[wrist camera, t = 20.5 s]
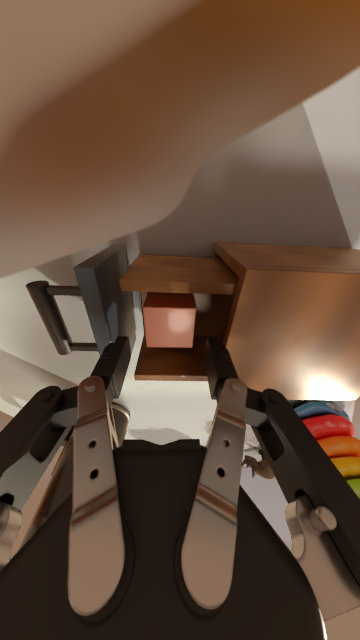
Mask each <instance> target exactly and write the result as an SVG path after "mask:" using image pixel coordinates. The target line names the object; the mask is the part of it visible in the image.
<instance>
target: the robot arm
mask: <svg viewBox="0 0 360 640" xmlns="http://www.w3.org/2000/svg"><path fill="white" fill-rule="evenodd" d="M130 358H131V348H130V342H129V337H128V336H117V338H116V340H115V343H109V344H108V345H107V346H106V347H105V348H104V350H103V352H102V354H101V356H100V359H99V360H98V362H97V364H96V366H95V368H94V370H93V372H92V374H91V376H90V377H88V378H86V379H84V380H83V381H82V382H81V383H80V384H79V386H77V387H73V388H69V389H65V390H61V388H60V387H58V386H49V387H46V388H44V389H42V390H40V391H39V392H37V393H36V394H35V395H34V396H33V397H32V398H31V400H30V401H29V402H28V403H27V404H26V405H25V406H24V407H23V408H22V409H21V410H20V412H19V413H18V414H17V415H16V416H15V417H14V418H13V419H12V420H11V421H10V423H8V425H7V426H6V427H5V428H4V429H3V430H2V431H1V432H0V640H327V637H326V631H325V626H324V621H326V620H329V619H331V618H334V617H336V616H339V615H341V614H343V613H346V612H348V611H350V610H353V609H355V608H357V607H360V499H359V498H358V496H357V495H356V493H355V492H354V491H353V489H352V488H351V487H350V485H349V484H348V483H347V481H346V480H345V478H344V477H343V476H342V474H341V473H340V472H339V470H338V469H337V468H336V466H335V465H334V463H333V462H332V461H331V459H330V458H329V457H328V455H327V454H326V452H325V451H324V450H323V448H322V447H321V446H320V444H319V443H318V442H317V440H316V439H315V437H314V436H313V435H312V433H311V432H310V431H309V429H308V428H307V427H306V425H305V424H304V422H303V421H302V420H301V418H300V417H299V416H298V414H297V413H296V412H295V410H294V409H293V407H292V406H291V405H290V403H289V402H288V401H287V399H286V398H285V397H284V395H283V394H281V393H280V392H279V391H277V390H274V389H270V388H268V389H265V390H263V392H260V391H256V390H253V389H250V388H248V387H246V385H245V384H244V383H243V382H242V381H241V380H239V378H238V375H237V372H236V370H235V367H234V364H233V362H232V359H231V357H230V353H229V351H228V349H227V348H226V347H225V346H224V345H219V343H218V340H217V339H216V338H207V340H206V346H205V351H204V362H205V367H206V372H207V377H208V383H209V388H210V393H211V398H212V399H216V400H217V407H216V411H215V415H214V419H213V422H212V426H211V430H210V434H209V437H208V441H207V444H206V447H204V446H201V445H200V441H199V439H181V440H177V441H174V442H171V443H168V444H165V445H158V444H155V443H151V442H148V441H145V440H124V439H125V435H126V430H127V426H128V423H129V419H130V414H129V412H128V411H127V410H126V409H125V408H124V407H122V406H120V405H117V404H114V403H112V401H113V398H119V395H120V392H121V389H122V385H123V382H124V379H125V375H126V372H127V369H128V365H129V362H130ZM245 423H246V424H249V425H251V427H252V429H253V431H254V433H255V436H256V438H257V440H258V442H259V444H260V446H261V448H262V450H263V452H264V454H265V456H266V458H267V460H268V463H269V465H270V467H271V469H272V471H273V473H274V475H275V477H276V479H277V481H278V483H279V485H280V487H281V490H282V492H283V494H284V496H285V498H286V500H287V502H288V505H287V507H286V511H285V515H286V521H287V525H288V527H289V530H290V533H291V538H292V552H291V551H290V550H289V549H288V547H287V546H286V545H285V543H284V542H283V541H282V540H281V538H280V537H279V535H278V534H277V533H276V532H275V530H274V529H273V528H272V526H271V525H270V524H269V522H268V521H267V520H266V518H265V517H264V516H263V514H262V513H261V512H260V510H259V509H258V508H257V507H256V505H255V504H254V503H253V502H252V500H251V499H250V497H249V496H248V495H247V493H246V492H245V491H244V489H243V488H242V487H241V485H240V476H241V466H242V457H243V448H244V438H245V428H246V425H245ZM61 445H62V446H64V448H63V450H62V453H61V455H60V457H59V459H58V461H57V463H56V465H55V467H54V470H53V472H52V474H51V479H50V481H49V483H48V486H47V488H46V490H45V492H44V495H43V497H42V499H41V501H40V503H39V505H38V508H37V510H36V512H35V514H34V516H33V518H32V521H31V523H30V525H29V527H28V529H27V532H26V534H25V536H24V538H23V540H22V542H21V545H20V547H19V549H18V551H17V553H16V554H15V555H14V556H13V558H12V559H11V560H10V553H11V549H12V545H13V543H14V541H15V539H16V538H17V535H18V533H19V529H20V527H21V523H22V513H21V509H22V508H23V506H24V504H25V503H26V501H27V499H28V498H29V496H30V495H31V493H32V491H33V490H34V488H35V487H36V485H37V483H38V482H39V480H40V478H41V477H42V475H43V473H44V472H45V470H46V468H47V467H48V465H49V464H50V462H51V460H52V459H53V457H54V455H55V454H56V452H57V450H58V449H59V447H60V446H61Z"/></svg>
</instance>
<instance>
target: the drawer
mask: <svg viewBox="0 0 360 640" xmlns="http://www.w3.org/2000/svg"><path fill="white" fill-rule="evenodd" d="M74 271H75V274H76V277H77V281H78V284H79V286H54V285H49V283H48V282H47V281H34V282H31V283H28V284H27V285H26V287H27V289H28V292H29V294H30V296H31V298H32V300H33V302H34V304H35V306H36V308H37V310H38V312H39V314H40V316H41V318H42V320H43V322H44V324H45V327H46V329H47V331H48V333H49V335H50V337H51V339H52V341H53V343H54V345H55V347H56V349H57V351H58V353H59V354H60V355H66V354H69V353H71V352H72V351H99V354H100V356H101V354H102V352H103V350H104V348H105V347H106V346H107V345H108V344H109V343H115V340H116V338H117V336H128V337H129V342H130V348H131V353H132V350H133V347H134V343H135V340H136V333H135V325H134V317H133V308H132V300H131V292H130V291H140V292H141V303H142V315H143V305H144V302H145V299H146V296H147V292H167V293H194V298H195V303H196V307H197V311H196V320H195V329H194V339H193V347H192V348H173V347H147V346H146V337H145V327H144V337H143V342H142V346H141V350H140V354H139V358H138V362H137V366H136V370H135V374H134V376H135V380H160V381H208V377H207V372H206V367H205V362H204V351H205V346H206V340H207V338H216V339H217V340H218V343H219V345H222V344H223V340H224V336H225V332H226V328H227V324H228V320H229V316H230V312H231V308H232V304H233V300H234V296H235V292H236V288H237V284H238V280H239V277H238V276H237V275H236V274H235V273H234V272H233V271H232V270H231V268H230V267H229V266H228V265H227V264H226V263H225V262H224V261H223V260H222V259H221V258H201V257H179V256H158V255H138V257H137V258H136V259H135V260H134V262H133V263H132V264H131V265H130V267H129V268H127V260H126V251H125V246H124V245H111V246H110V247H108V248H106V249H105V250H103V251H101V252H99V253H98V254H96V255H94V256H93V257H91V258H89V259H87V260H86V261H84V262H82V263H81V264H79V265H77V266H75V267H74ZM54 295H70V296H82V297H83V301H84V304H85V307H86V311H87V314H88V317H89V321H90V324H91V327H92V331H93V334H94V337H95V341H96V343H72V340H71V338H70V335H69V333H68V330H67V328H66V325H65V323H64V320H63V318H62V315H61V313H60V310H59V308H58V305H57V303H56V300H55V298H54ZM143 326H144V317H143Z"/></svg>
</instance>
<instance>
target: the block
mask: <svg viewBox="0 0 360 640" xmlns="http://www.w3.org/2000/svg"><path fill="white" fill-rule="evenodd" d="M196 311H197V307H196V303H195V298H194V293H167V292H147V296H146V299H145V302H144V305H143V317H144V327H145V337H146V346H147V347H173V348H192V347H193V339H194V329H195V320H196Z"/></svg>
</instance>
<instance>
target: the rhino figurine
mask: <svg viewBox="0 0 360 640" xmlns="http://www.w3.org/2000/svg"><path fill="white" fill-rule="evenodd" d="M258 453H259V454H260V455H261V456H262V461H260V462H257V461H256V459H255V458H253V457H250V456H247V455H245V460H244V461H243V462H242V467H243V465H244V464H247V467H249V466H250V467H251V468H252V473H253V474H252V476H253V477H254V476H255V474H258V475H260V476H262V477H264V478H266V479H272V478H274V477H275V475H274V473H273V471H272V469H271V467H270V465H269V463H268V460H267V458H266V456H265V455H264V452H263V451H259V452H258Z"/></svg>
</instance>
